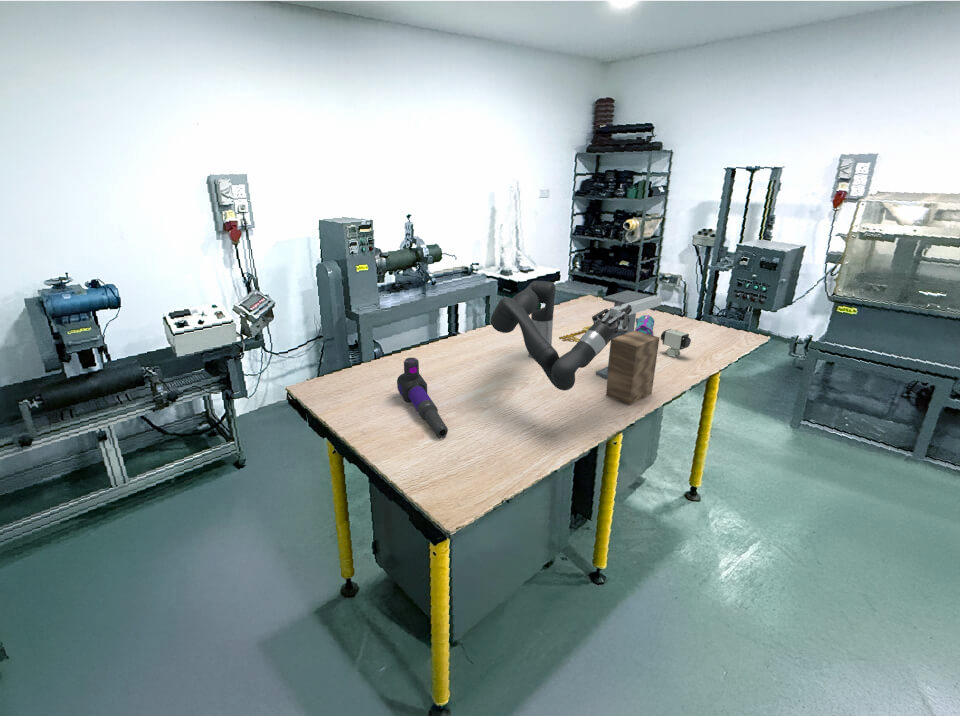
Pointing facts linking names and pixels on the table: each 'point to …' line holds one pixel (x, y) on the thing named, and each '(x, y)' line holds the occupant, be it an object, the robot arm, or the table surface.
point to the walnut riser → (632, 366)
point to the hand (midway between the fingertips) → (625, 305)
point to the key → (574, 335)
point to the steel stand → (622, 298)
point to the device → (419, 396)
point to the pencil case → (645, 324)
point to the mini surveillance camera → (675, 341)
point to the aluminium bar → (637, 305)
